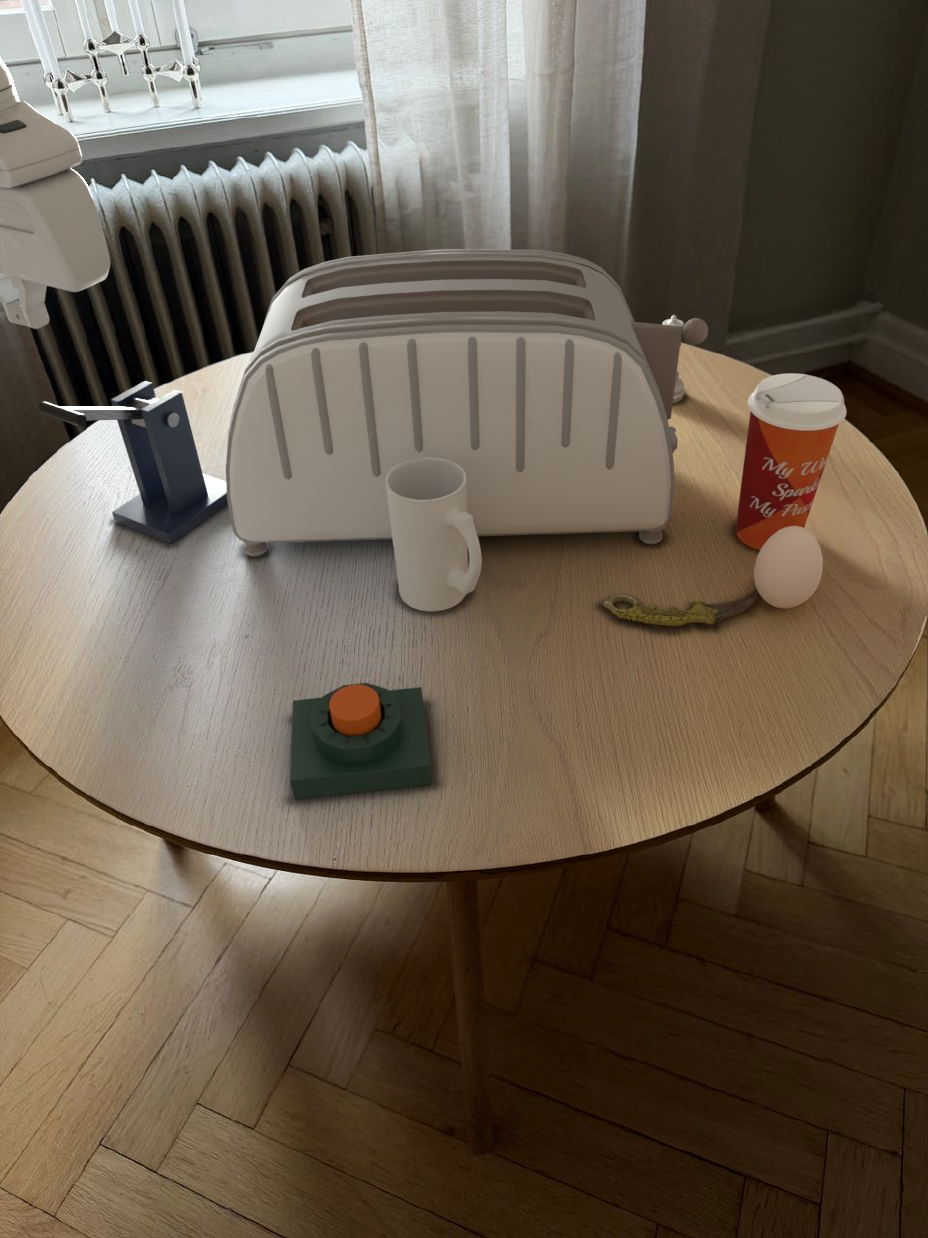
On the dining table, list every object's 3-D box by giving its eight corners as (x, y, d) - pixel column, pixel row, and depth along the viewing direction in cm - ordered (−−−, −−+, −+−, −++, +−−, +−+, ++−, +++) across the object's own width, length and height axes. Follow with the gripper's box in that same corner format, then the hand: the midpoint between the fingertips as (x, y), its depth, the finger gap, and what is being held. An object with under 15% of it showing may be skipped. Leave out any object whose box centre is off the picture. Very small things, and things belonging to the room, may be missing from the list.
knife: (759, 577, 82) (780, 610, 78) (757, 586, 83) (778, 618, 79) (600, 593, 82) (614, 627, 78) (600, 601, 82) (613, 635, 78)
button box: (294, 800, 66) (285, 764, 64) (296, 719, 72) (288, 683, 70) (432, 784, 67) (429, 748, 64) (423, 706, 73) (420, 669, 71)
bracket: (171, 544, 91) (136, 428, 83) (114, 521, 94) (76, 408, 86) (239, 494, 97) (214, 383, 89) (184, 475, 101) (154, 366, 92)
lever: (75, 434, 79) (77, 406, 78) (37, 421, 81) (38, 393, 80) (179, 431, 89) (182, 406, 88) (143, 419, 91) (145, 394, 90)
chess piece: (689, 393, 111) (701, 313, 104) (671, 408, 108) (682, 326, 102) (657, 384, 113) (666, 304, 106) (639, 397, 110) (647, 317, 104)
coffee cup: (750, 566, 85) (781, 421, 75) (709, 518, 91) (733, 378, 81) (830, 550, 87) (871, 405, 77) (785, 503, 93) (817, 364, 83)
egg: (801, 582, 83) (820, 509, 78) (820, 622, 79) (842, 547, 74) (740, 584, 83) (756, 512, 78) (756, 624, 79) (774, 550, 74)
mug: (381, 588, 85) (368, 476, 77) (438, 558, 88) (432, 448, 80) (450, 643, 79) (444, 528, 71) (509, 609, 82) (509, 495, 74)
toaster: (705, 552, 87) (745, 323, 72) (233, 567, 88) (178, 343, 73) (666, 438, 103) (692, 232, 89) (268, 451, 104) (228, 248, 89)
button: (332, 739, 66) (329, 722, 65) (331, 703, 69) (329, 686, 68) (382, 734, 66) (380, 717, 65) (380, 698, 69) (377, 681, 68)
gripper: (-163, 132, 68) (-82, 314, 77) (18, 164, 59) (84, 364, 69) (-86, 113, 72) (-18, 288, 81) (94, 139, 63) (147, 331, 73)
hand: (30, 323), depth 75 cm, fingers closed
